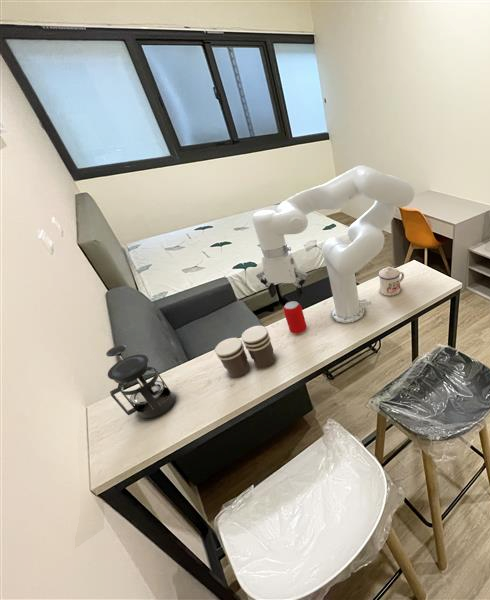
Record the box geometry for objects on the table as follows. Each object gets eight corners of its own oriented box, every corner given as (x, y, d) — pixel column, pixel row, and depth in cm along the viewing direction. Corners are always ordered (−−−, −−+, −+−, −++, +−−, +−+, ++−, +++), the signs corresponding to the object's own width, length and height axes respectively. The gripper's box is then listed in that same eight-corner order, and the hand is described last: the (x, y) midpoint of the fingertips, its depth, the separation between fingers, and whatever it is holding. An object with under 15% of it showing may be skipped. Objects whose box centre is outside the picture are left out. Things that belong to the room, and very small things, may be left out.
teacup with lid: (387, 298, 136) (385, 275, 129) (376, 290, 142) (373, 266, 135) (410, 288, 141) (409, 265, 135) (398, 280, 148) (396, 258, 141)
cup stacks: (275, 350, 113) (265, 322, 106) (279, 364, 107) (268, 336, 100) (226, 366, 107) (212, 338, 100) (227, 382, 102) (212, 353, 95)
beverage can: (307, 334, 119) (299, 308, 112) (290, 337, 118) (281, 311, 112) (307, 324, 124) (300, 298, 117) (291, 326, 123) (283, 301, 117)
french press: (173, 387, 101) (135, 331, 88) (182, 403, 96) (144, 346, 82) (129, 411, 94) (81, 354, 81) (136, 430, 89) (86, 372, 76)
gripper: (305, 245, 105) (314, 289, 114) (254, 245, 106) (268, 289, 116) (297, 255, 99) (308, 301, 108) (243, 255, 100) (259, 301, 110)
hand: (287, 295), depth 112 cm, fingers open, 9 cm apart
